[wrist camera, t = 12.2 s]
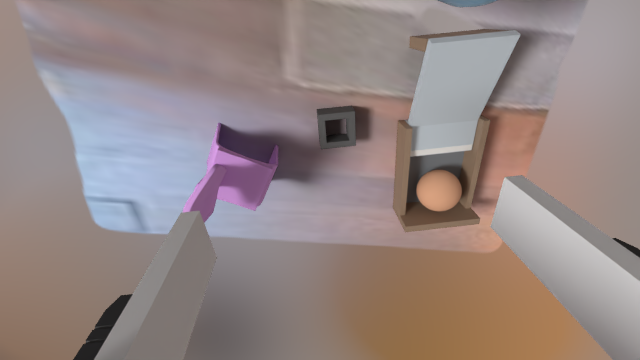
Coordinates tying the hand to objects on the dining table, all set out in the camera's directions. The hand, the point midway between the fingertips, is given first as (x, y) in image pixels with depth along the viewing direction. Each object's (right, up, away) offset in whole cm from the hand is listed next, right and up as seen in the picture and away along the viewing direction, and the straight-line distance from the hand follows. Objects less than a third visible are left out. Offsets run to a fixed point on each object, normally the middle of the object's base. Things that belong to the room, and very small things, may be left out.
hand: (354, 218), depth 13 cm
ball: (+15, +3, +30) cm, 34 cm away
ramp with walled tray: (+15, +9, +27) cm, 32 cm away
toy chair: (-12, +5, +27) cm, 30 cm away
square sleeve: (+1, +9, +26) cm, 27 cm away
